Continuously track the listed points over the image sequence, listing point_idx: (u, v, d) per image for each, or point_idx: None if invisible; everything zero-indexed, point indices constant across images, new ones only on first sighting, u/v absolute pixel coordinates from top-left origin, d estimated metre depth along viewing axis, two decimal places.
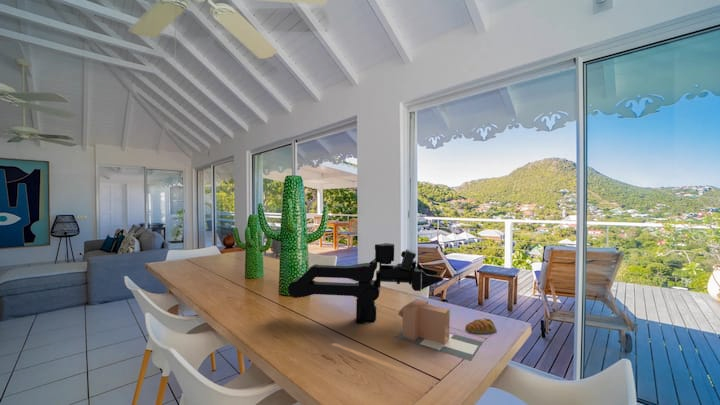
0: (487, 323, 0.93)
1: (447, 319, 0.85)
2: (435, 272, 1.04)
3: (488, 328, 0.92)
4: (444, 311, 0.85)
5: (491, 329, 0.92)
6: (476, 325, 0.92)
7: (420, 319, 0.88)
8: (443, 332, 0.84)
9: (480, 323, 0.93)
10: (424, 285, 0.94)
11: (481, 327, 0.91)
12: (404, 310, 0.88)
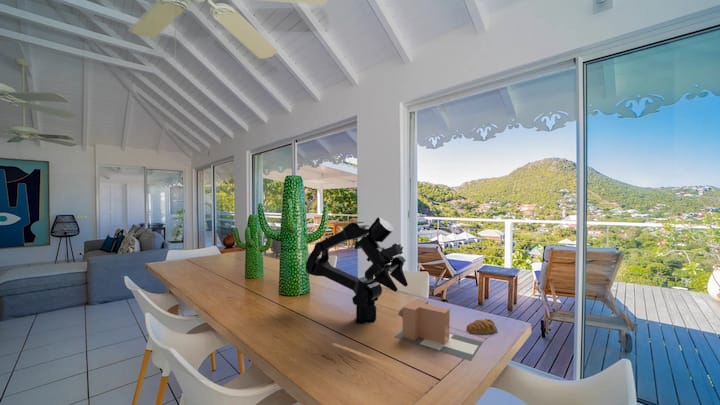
0: (488, 323, 0.93)
1: (447, 319, 0.85)
2: (405, 284, 0.97)
3: (489, 328, 0.91)
4: (444, 311, 0.85)
5: (492, 329, 0.91)
6: (477, 325, 0.92)
7: (420, 319, 0.88)
8: (443, 332, 0.84)
9: (481, 323, 0.93)
10: (378, 280, 0.93)
11: (482, 327, 0.91)
12: (404, 310, 0.88)
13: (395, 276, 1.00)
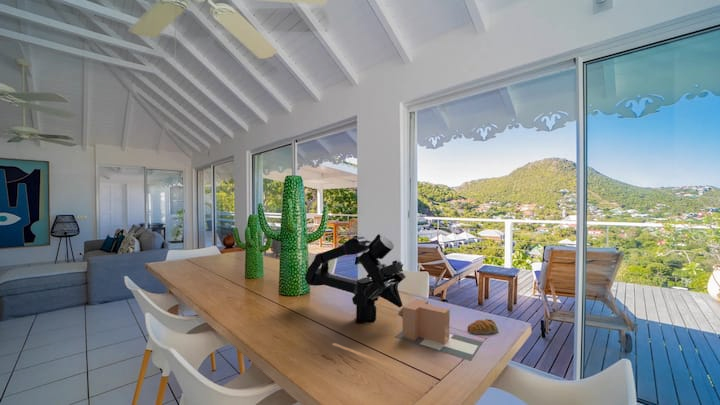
0: (489, 324, 0.92)
1: (447, 319, 0.85)
2: None
3: (490, 329, 0.91)
4: (444, 311, 0.85)
5: (493, 329, 0.91)
6: (478, 326, 0.92)
7: (420, 319, 0.88)
8: (443, 332, 0.84)
9: (482, 324, 0.92)
10: (383, 295, 0.95)
11: (483, 328, 0.91)
12: (404, 310, 0.88)
13: None
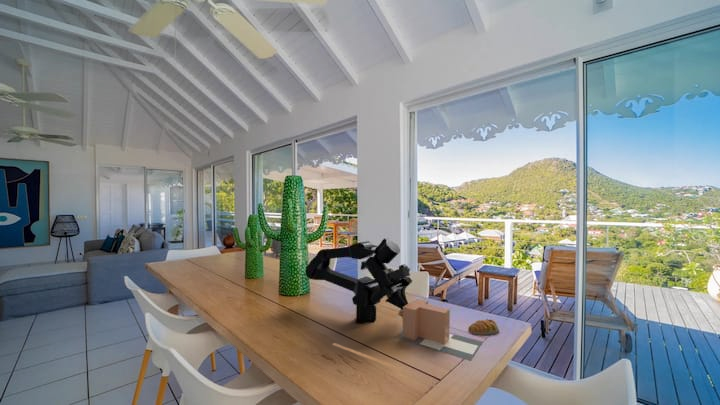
0: (490, 324, 0.92)
1: (447, 319, 0.85)
2: None
3: (491, 329, 0.91)
4: (444, 311, 0.85)
5: (495, 330, 0.91)
6: (479, 326, 0.91)
7: (420, 319, 0.88)
8: (443, 332, 0.84)
9: (483, 324, 0.92)
10: (391, 301, 0.94)
11: (484, 328, 0.91)
12: (404, 310, 0.88)
13: None
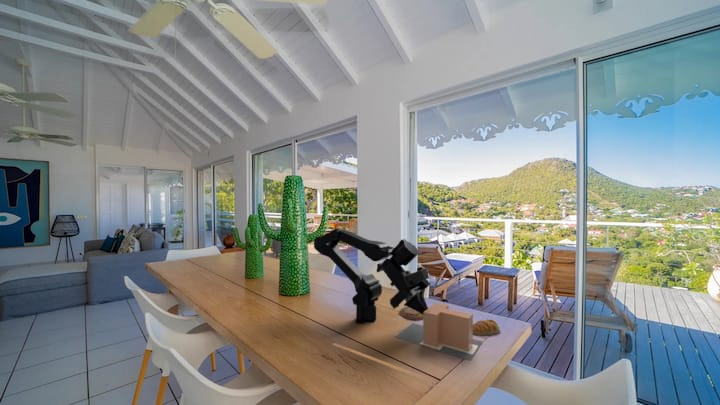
0: (491, 324, 0.92)
1: (471, 325, 0.81)
2: None
3: (492, 329, 0.91)
4: (467, 316, 0.81)
5: (496, 330, 0.91)
6: (480, 326, 0.91)
7: (442, 324, 0.84)
8: (467, 338, 0.80)
9: (484, 324, 0.92)
10: (409, 304, 0.90)
11: (486, 328, 0.90)
12: (425, 315, 0.84)
13: None
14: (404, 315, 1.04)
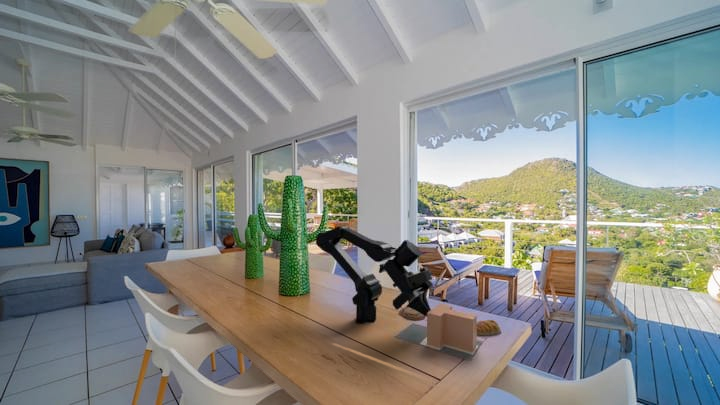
0: (492, 324, 0.92)
1: (475, 326, 0.81)
2: None
3: (493, 330, 0.91)
4: (472, 317, 0.80)
5: (496, 330, 0.91)
6: (481, 327, 0.91)
7: (445, 325, 0.83)
8: (471, 340, 0.79)
9: (485, 325, 0.92)
10: (412, 306, 0.89)
11: (487, 329, 0.90)
12: (428, 316, 0.83)
13: None
14: (404, 315, 1.04)
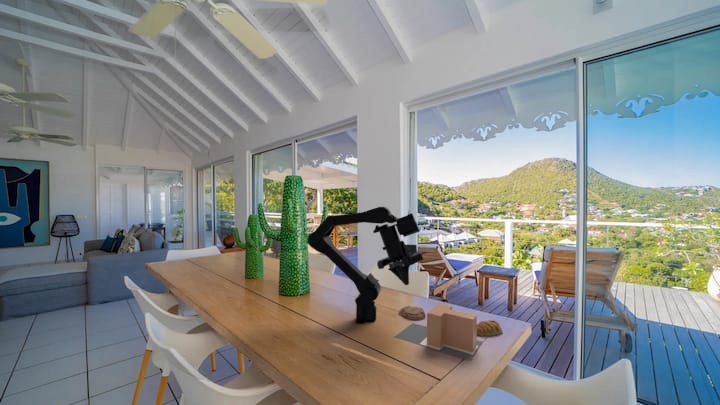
0: (493, 325, 0.92)
1: (475, 326, 0.81)
2: None
3: (495, 330, 0.90)
4: (472, 317, 0.80)
5: (498, 331, 0.91)
6: (483, 327, 0.91)
7: (445, 325, 0.83)
8: (471, 340, 0.79)
9: (487, 325, 0.91)
10: (401, 269, 0.97)
11: (488, 329, 0.90)
12: (428, 316, 0.83)
13: (398, 273, 0.99)
14: (404, 315, 1.04)
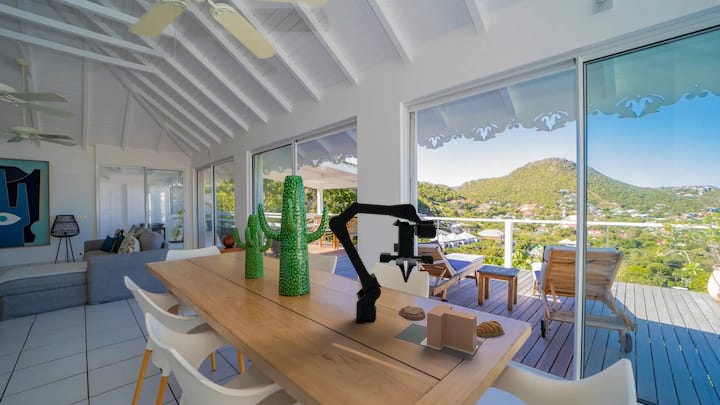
0: (495, 325, 0.91)
1: (475, 326, 0.81)
2: None
3: (497, 330, 0.90)
4: (472, 317, 0.80)
5: (500, 331, 0.90)
6: (485, 328, 0.90)
7: (445, 325, 0.83)
8: (471, 340, 0.79)
9: (489, 326, 0.91)
10: None
11: (491, 330, 0.89)
12: (428, 316, 0.83)
13: None
14: (404, 315, 1.04)
